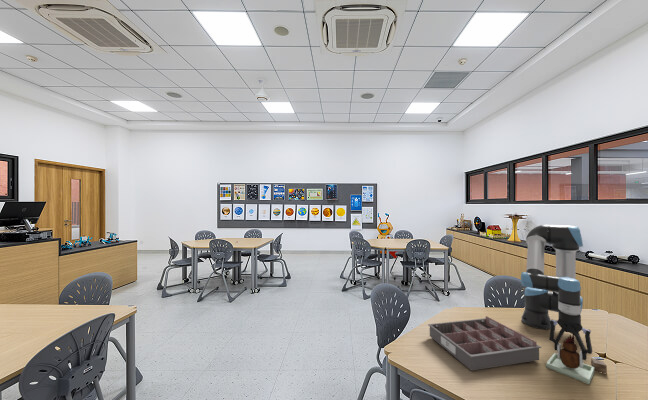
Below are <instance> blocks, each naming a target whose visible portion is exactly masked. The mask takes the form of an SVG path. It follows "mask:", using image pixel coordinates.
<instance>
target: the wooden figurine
mask: <svg viewBox="0 0 648 400" xmlns="http://www.w3.org/2000/svg"><path fill="white" fill-rule="evenodd" d="M560 358H561V361H562V363H563V364H564V365H565V366H566V367H569V368H573V369H576V368H578V367H579V365H580V353H579V352H578V345H577V344H576V343H575V336H574V334H572V335H571V334H569V336H567V338H566V339H565V340H563V341H562V347H561V350H560Z"/></svg>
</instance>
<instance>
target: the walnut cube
mask: <svg viewBox="0 0 648 400" xmlns="http://www.w3.org/2000/svg"><path fill="white" fill-rule="evenodd" d="M590 366H592V367H595V371H596V373H599V372H602V373H601V374H603V373H606V374H605V375H608V365H607V363H605V361H604V360H600V359H595V358H591V359H590Z"/></svg>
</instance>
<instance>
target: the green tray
mask: <svg viewBox="0 0 648 400" xmlns="http://www.w3.org/2000/svg"><path fill="white" fill-rule="evenodd" d="M545 364H546V365H545V367H546V368H547V369H550V370H552V371H555V372H557V373H560V374H561V375H565V376H566V377H569V378H572V379H573V380H577V381H578V382H579V381H580V382H581V383H583V384H587V385H590V384H591V381H592V378H593V377H594V374H595V367H592V366H591V364H590V365H589V364H587V363H584V362H583V367H582V368H581V367H580V365H579V367H578V368H576V369H573V368H569V367H566V366H565V365H564V364H563V363H562V361H561V358H560V359H557V352H553V354H552V355H551V356H550V358H549V359H548V360H547V361H546V363H545Z"/></svg>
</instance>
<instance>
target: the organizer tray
mask: <svg viewBox="0 0 648 400" xmlns="http://www.w3.org/2000/svg"><path fill="white" fill-rule="evenodd" d="M427 326H429V337H430V338H431V339H433V340H434V341H435V342H436V343H437V344H439V345H440V346H441V347H442V348H443V349H444V350H445V351H447V352H448V353H449V354H451V355H452V356H453V358H455V359H457V360H458V362H461V363H462V365H464V366H465V367H466V368H468V369H469V370H470V371H476V370H483V369H491V368H497V367H502V366H509V365H517V364H522V363H529V362H530V363H531V362H536V361H540V349H541V348H542V346H540V345H539V344H537V343H538V342H537V341H536V340H534V339H532V338H530V337H527V336H526V335H525V334H522V333H520V332H518V331H516V330H514V329H512V328H510V327H508V326H507V325H504V324H502V323H500V322H498V321H497V320H495V319H493V318H492V317H489V316H487V315H485V317H484V318H475V319H466V320H465V319H464V320H457V321H447V322H446V321H445V322H435V323H429V324H427Z"/></svg>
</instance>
